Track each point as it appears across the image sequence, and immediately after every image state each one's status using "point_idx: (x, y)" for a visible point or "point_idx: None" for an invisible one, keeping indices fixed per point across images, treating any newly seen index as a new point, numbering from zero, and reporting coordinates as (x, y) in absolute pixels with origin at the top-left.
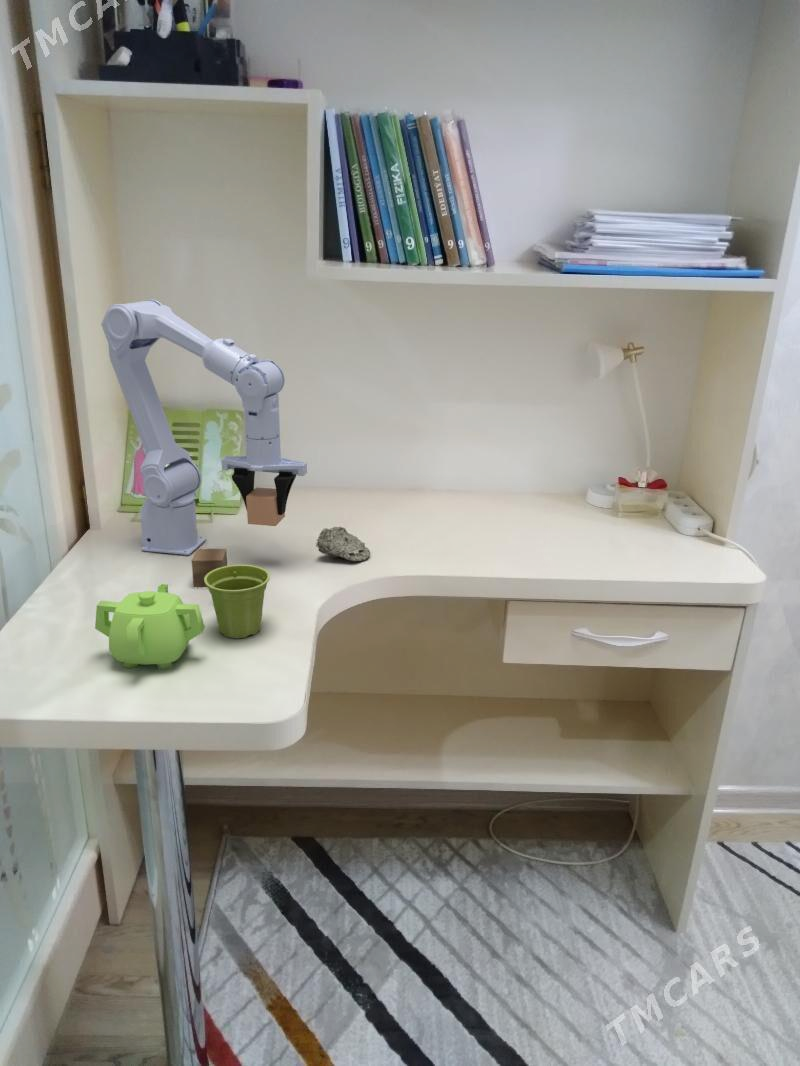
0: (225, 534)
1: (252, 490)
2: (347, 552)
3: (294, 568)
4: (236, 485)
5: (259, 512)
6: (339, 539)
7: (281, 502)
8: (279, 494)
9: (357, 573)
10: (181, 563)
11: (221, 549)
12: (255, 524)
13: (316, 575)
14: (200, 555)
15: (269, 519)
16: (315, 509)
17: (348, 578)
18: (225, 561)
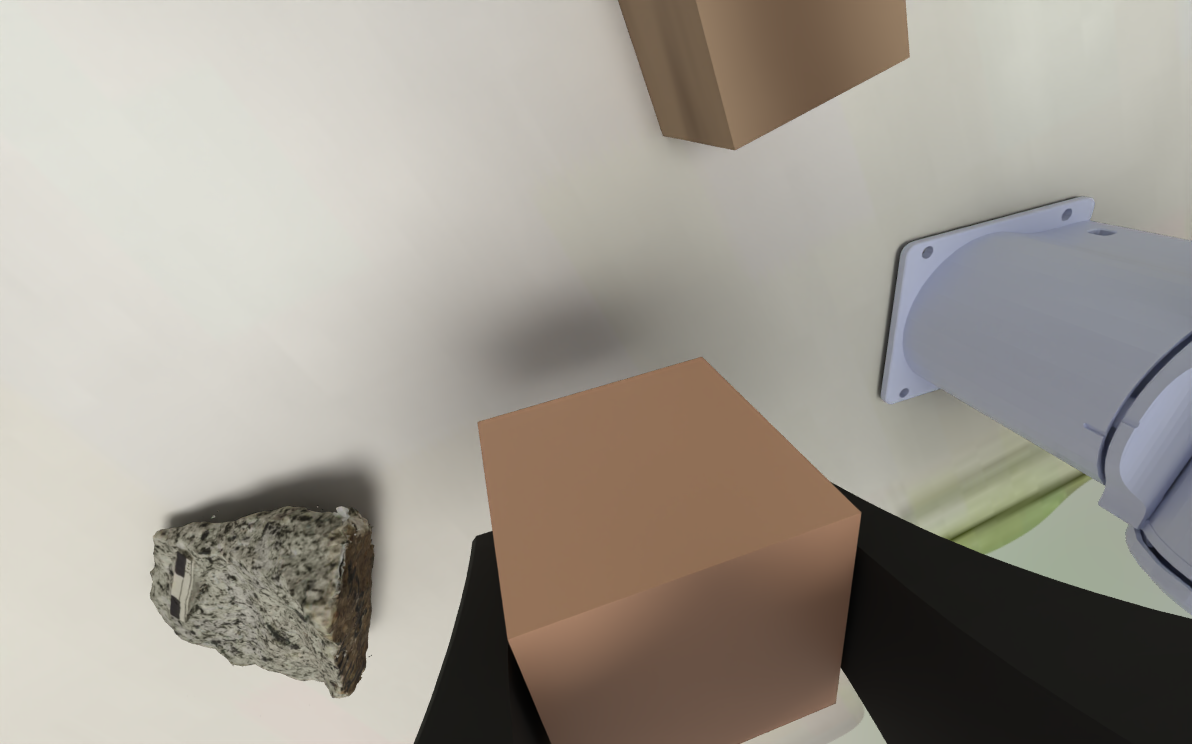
0: (831, 468)
1: (846, 648)
2: (194, 559)
3: (405, 354)
4: (1083, 590)
5: (642, 446)
6: (287, 617)
7: (458, 641)
8: (471, 735)
9: (61, 457)
10: (908, 161)
11: (759, 122)
12: (643, 374)
13: (240, 338)
14: None
15: (535, 437)
16: None
17: (45, 388)
18: (686, 73)
